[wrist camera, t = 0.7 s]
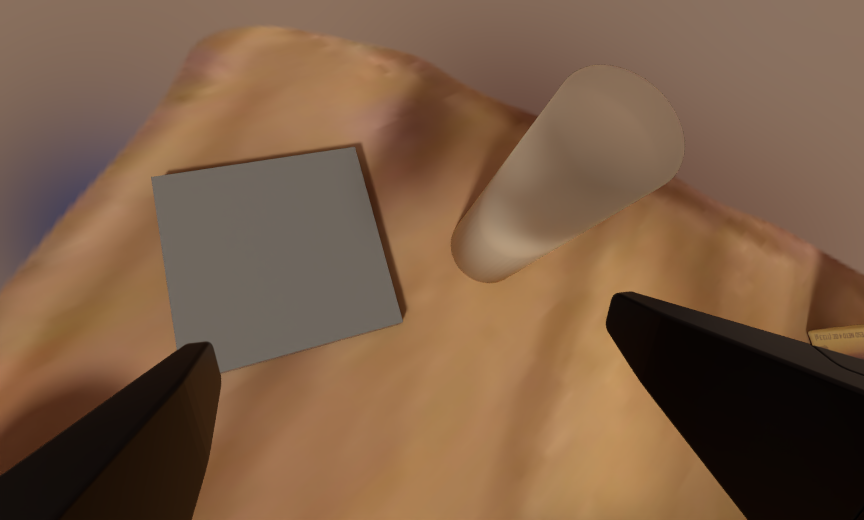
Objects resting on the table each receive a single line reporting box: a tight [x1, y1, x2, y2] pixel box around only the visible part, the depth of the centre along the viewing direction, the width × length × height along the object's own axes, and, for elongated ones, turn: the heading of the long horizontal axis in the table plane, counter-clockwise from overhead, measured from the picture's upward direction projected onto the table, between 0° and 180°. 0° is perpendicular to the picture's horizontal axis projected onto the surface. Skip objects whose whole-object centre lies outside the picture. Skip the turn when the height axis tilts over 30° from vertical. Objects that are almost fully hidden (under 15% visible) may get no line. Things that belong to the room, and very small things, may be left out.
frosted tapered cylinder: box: [451, 65, 685, 283], centre depth 19 cm, size 5×5×13 cm
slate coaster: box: [151, 147, 403, 374], centre depth 22 cm, size 11×11×1 cm
